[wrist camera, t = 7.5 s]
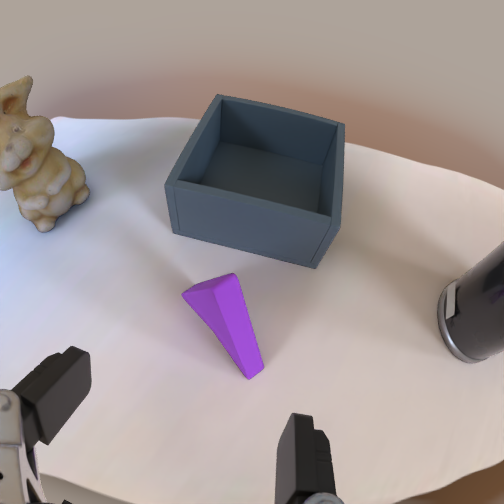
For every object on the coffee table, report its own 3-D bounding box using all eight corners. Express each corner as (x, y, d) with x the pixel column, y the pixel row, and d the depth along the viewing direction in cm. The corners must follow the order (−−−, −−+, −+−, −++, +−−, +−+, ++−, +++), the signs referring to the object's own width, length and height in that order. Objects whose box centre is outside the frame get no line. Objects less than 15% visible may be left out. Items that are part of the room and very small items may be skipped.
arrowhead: (227, 338, 29) (293, 388, 21) (213, 348, 29) (276, 403, 20) (177, 247, 25) (236, 272, 17) (160, 257, 25) (211, 289, 16)
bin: (327, 168, 36) (345, 123, 30) (315, 269, 29) (340, 227, 23) (214, 141, 36) (216, 93, 30) (172, 233, 29) (164, 184, 23)
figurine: (54, 260, 26) (-22, 147, 13) (6, 232, 27) (-61, 134, 14) (105, 185, 31) (69, 64, 18) (54, 168, 32) (14, 65, 19)
